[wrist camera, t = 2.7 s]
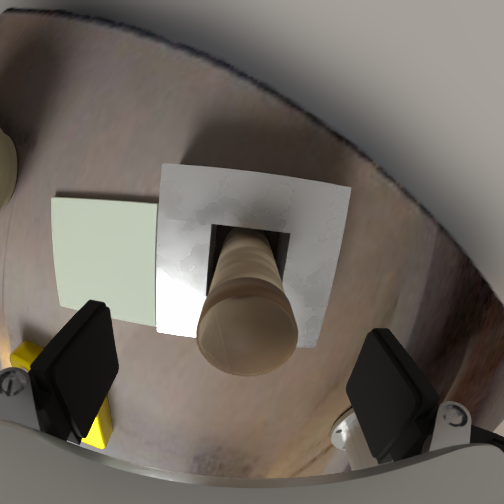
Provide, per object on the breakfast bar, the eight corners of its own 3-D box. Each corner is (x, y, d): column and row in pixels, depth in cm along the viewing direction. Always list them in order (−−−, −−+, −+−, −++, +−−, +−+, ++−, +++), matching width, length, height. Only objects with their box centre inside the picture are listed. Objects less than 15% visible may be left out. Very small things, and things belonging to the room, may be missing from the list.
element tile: (41, 401, 32) (29, 418, 27) (21, 334, 28) (3, 351, 23) (115, 433, 33) (106, 455, 29) (106, 372, 29) (91, 396, 25)
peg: (273, 226, 24) (308, 298, 11) (266, 272, 25) (287, 378, 12) (224, 220, 24) (197, 286, 10) (220, 266, 25) (194, 370, 11)
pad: (159, 203, 23) (157, 204, 23) (157, 323, 26) (155, 326, 26) (54, 196, 22) (51, 197, 22) (62, 303, 26) (60, 305, 25)
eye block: (330, 183, 23) (351, 187, 18) (304, 318, 27) (315, 347, 22) (179, 164, 22) (162, 163, 17) (171, 304, 26) (157, 331, 21)
